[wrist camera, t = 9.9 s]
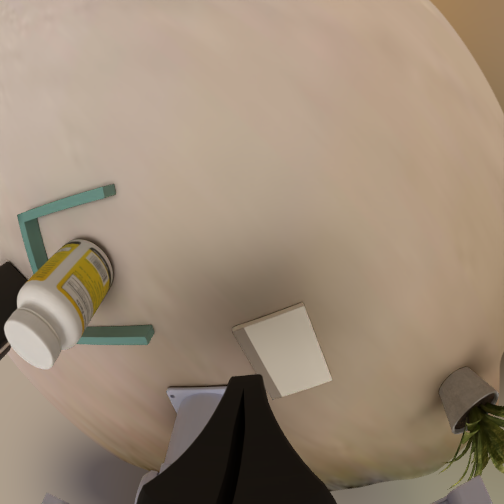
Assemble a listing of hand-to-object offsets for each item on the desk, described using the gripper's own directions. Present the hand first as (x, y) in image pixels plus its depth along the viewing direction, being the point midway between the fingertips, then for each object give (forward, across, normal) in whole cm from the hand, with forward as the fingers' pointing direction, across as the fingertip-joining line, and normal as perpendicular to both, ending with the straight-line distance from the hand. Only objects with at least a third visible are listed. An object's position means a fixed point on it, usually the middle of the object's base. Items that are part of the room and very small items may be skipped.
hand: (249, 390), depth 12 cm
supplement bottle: (+10, +13, -4) cm, 17 cm away
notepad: (+10, -2, +7) cm, 13 cm away
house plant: (+10, -22, +18) cm, 30 cm away
